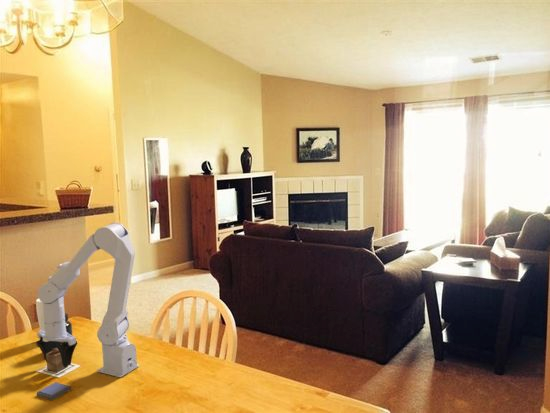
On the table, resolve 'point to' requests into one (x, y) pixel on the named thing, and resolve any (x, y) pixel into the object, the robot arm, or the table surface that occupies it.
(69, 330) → the supplement bottle
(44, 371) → the form sheet
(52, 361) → the stamp
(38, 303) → the drinking glass
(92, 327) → the table surface
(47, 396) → the ink pad
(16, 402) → the table surface
